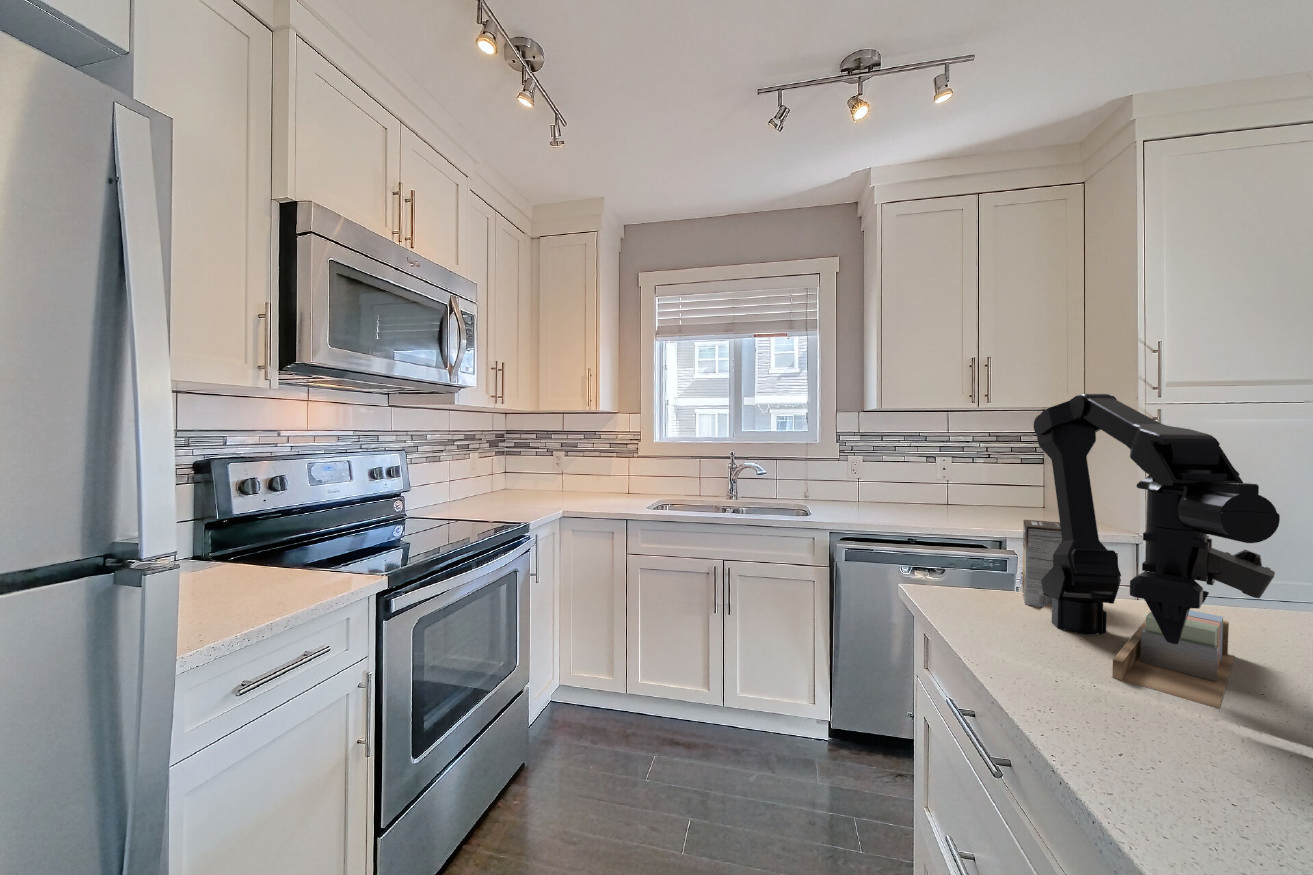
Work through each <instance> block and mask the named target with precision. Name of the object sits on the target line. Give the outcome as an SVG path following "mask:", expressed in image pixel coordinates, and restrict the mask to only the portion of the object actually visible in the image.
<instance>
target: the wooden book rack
mask: <svg viewBox="0 0 1313 875" xmlns="http://www.w3.org/2000/svg"><path fill="white" fill-rule="evenodd" d="M1229 622H1230V621H1227V620H1223V640H1222V657H1221V660H1220V663H1219V666H1218V669H1217V681H1216V682H1215V681H1211V680H1207V679H1203V678H1200V677H1196V676H1192V675H1188V674H1185V673H1181V672H1177V671H1173V670H1170V669H1166V668H1162V667H1158V666H1155V665H1151V664H1147V663H1143V662H1140V651H1141V631H1142V630H1143V629H1145V630H1146V619H1145V620H1144V621H1143V622H1142V624H1141V625H1140V626H1139V627H1138V628H1137V629H1136V631H1135V632H1134V633H1133V634H1132V635H1131V637H1130V638H1129V639H1128V640H1127V642H1125V644H1124V645H1123V647H1121V649H1120V650H1119V651H1118V652H1117V654H1116V655H1115V656H1114V657H1113V658H1112V679H1115V680H1119V681H1123V682H1126V683H1129V684H1134V685H1136V686H1140V687H1143V688H1146V689H1150V690H1153V691H1158V692H1161V693H1163V694H1168V695H1171V696H1174V697H1177V698H1180V699H1183V700H1186V701H1187V700H1188V701H1191V702H1195V703H1198V704H1201V705H1204V706H1207V707H1212V708H1215V709H1220V707H1221V703H1222V701H1223V696H1224V694H1225V691H1226V687H1227V685H1228V684H1227V683H1228V680H1229V676H1230V673H1231V670H1232V666H1233V664H1234V663H1233V662H1234V659H1235V655H1233V654H1229V629H1230V628H1229V627H1230V626H1229V625H1230V624H1229Z"/></svg>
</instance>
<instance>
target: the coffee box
mask: <svg viewBox="0 0 1313 875" xmlns="http://www.w3.org/2000/svg"><path fill="white" fill-rule="evenodd" d="M1022 529H1023V530H1022V532H1023V533H1022V573H1021V574H1022V579H1021V581H1022V582H1021V583H1022V584H1021V585H1022V588H1021V590H1022V591H1021V592H1022V596H1023V601H1024V604H1025V605H1027V606H1033V607H1038V608H1039V607H1040V608H1045V607H1046V606H1047V605H1048V606H1049V604H1051V605H1052V597H1051V596H1049V595H1047V594H1045V593H1043V589H1042V583H1041V580H1042V579H1043V578H1044V576H1045V575H1046V574H1047V573H1048V572H1049V571H1050V570H1051V568H1052V567H1053V554H1054V553H1055V551H1056V550H1057V548H1058V546H1059V545H1060V543H1061V541H1062V534H1061V527H1060V521H1046V520H1038V519H1037V520H1036V519H1035V520H1034V519H1033V520H1032V519H1023V528H1022ZM1023 593H1024V594H1023Z"/></svg>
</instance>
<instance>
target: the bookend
mask: <svg viewBox="0 0 1313 875" xmlns="http://www.w3.org/2000/svg"><path fill="white" fill-rule="evenodd" d="M1140 662H1143V663H1147V664H1151V665H1155V666H1158V667H1162V668H1166V669H1170V670H1173V671H1177V672H1181V673H1185V674H1188V675H1192V676H1196V677H1200V678H1203V679H1207V680H1211V681H1215V682H1216V681H1217V669H1218V646H1215V645H1210V644H1206V643H1202V642H1197V641H1193V640H1189V639H1184V638H1180V641H1179V643H1178V644H1172V643H1168V642H1167V641H1166V640H1165V638H1164V636H1163V634H1162V633H1158V632H1154V631H1149V630H1145V629H1143V630H1142V631H1141V651H1140Z"/></svg>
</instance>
